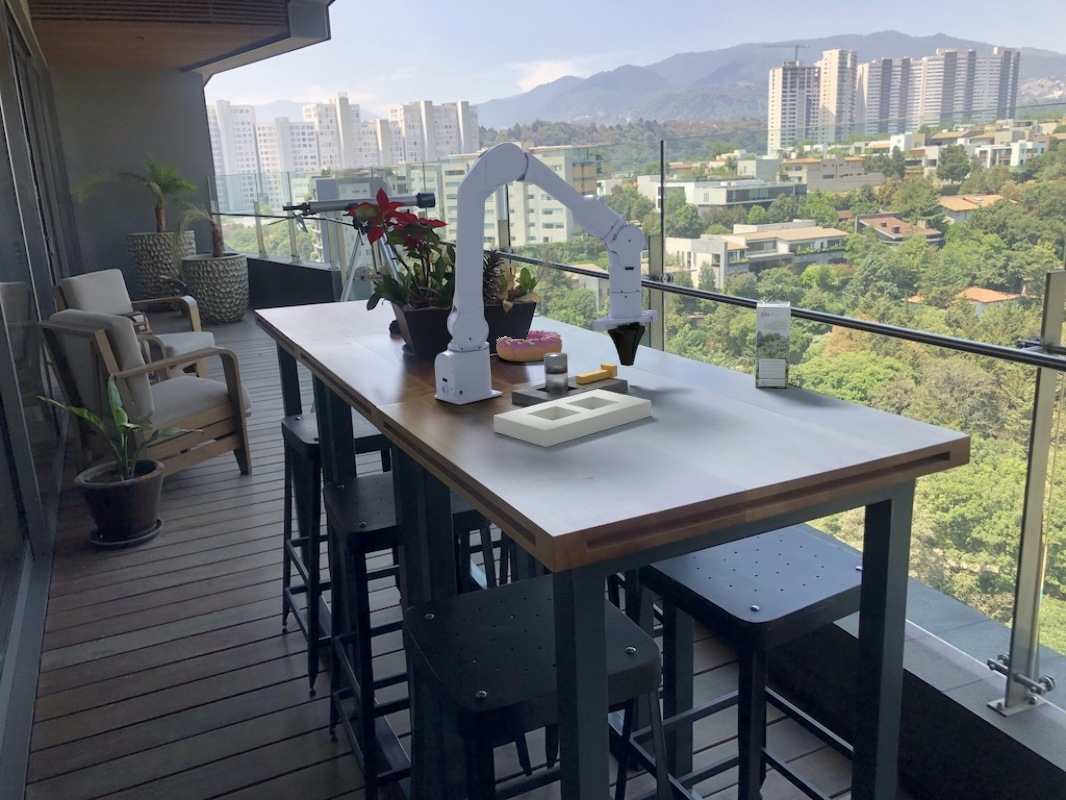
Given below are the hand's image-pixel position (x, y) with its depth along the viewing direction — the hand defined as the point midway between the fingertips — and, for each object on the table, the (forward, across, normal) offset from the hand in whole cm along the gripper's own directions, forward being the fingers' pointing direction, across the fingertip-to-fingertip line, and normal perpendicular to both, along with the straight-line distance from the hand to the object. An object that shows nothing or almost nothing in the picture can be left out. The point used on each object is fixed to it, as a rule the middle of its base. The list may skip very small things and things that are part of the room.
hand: (627, 365), depth 159 cm
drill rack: (+3, -25, -13) cm, 29 cm away
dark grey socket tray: (+3, -14, 0) cm, 15 cm away
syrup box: (+4, +15, -21) cm, 26 cm away
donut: (+4, +5, +34) cm, 35 cm away
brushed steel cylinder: (+3, -17, 0) cm, 18 cm away
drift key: (+1, -8, 0) cm, 8 cm away
